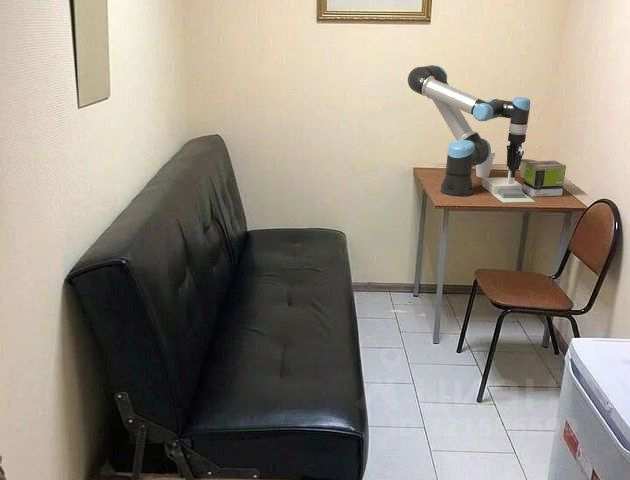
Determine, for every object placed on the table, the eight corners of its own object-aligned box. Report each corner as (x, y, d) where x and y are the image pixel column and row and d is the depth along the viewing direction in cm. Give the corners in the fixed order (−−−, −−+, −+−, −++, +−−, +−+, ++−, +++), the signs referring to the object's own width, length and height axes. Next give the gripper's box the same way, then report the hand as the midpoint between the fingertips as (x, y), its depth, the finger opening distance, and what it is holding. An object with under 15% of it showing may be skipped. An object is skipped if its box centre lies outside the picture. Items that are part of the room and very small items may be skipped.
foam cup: (472, 173, 330) (475, 148, 325) (490, 174, 329) (493, 149, 324) (474, 178, 321) (477, 152, 316) (492, 179, 320) (496, 153, 315)
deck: (493, 194, 295) (494, 186, 294) (481, 185, 308) (482, 177, 307) (521, 193, 297) (522, 185, 296) (509, 185, 310) (510, 177, 309)
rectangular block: (503, 198, 289) (503, 193, 288) (497, 193, 295) (498, 189, 294) (524, 198, 290) (525, 193, 289) (518, 193, 296) (519, 189, 295)
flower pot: (534, 175, 328) (536, 159, 325) (537, 180, 319) (540, 164, 316) (515, 174, 329) (518, 158, 326) (518, 179, 320) (520, 162, 317)
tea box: (551, 190, 304) (556, 159, 299) (562, 196, 295) (567, 165, 290) (521, 190, 302) (526, 160, 297) (532, 197, 293) (536, 166, 287)
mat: (503, 202, 283) (503, 202, 283) (492, 194, 295) (492, 193, 295) (535, 202, 285) (535, 201, 285) (523, 194, 297) (523, 193, 297)
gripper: (532, 135, 279) (524, 187, 288) (518, 129, 291) (512, 179, 300) (515, 136, 278) (508, 187, 286) (503, 130, 290) (497, 179, 298)
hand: (510, 183), depth 293 cm, fingers closed
